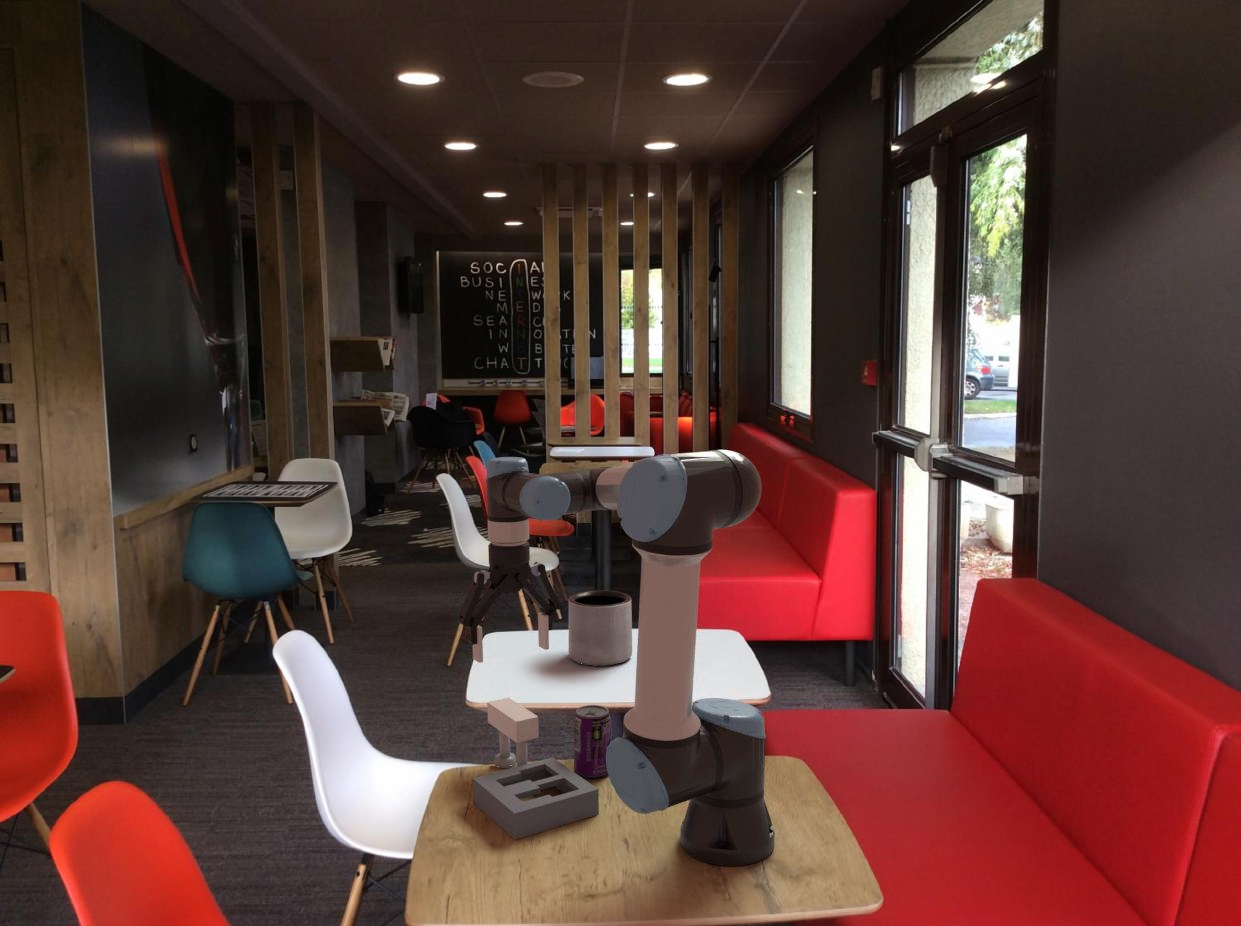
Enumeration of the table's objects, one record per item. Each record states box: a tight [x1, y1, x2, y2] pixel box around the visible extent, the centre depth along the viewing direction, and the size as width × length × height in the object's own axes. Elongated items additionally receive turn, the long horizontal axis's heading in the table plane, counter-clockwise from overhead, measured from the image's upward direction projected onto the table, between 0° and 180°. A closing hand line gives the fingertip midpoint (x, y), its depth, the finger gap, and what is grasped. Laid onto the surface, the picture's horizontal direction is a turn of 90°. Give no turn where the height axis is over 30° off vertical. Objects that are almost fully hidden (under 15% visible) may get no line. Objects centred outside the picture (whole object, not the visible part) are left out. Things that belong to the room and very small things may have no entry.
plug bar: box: [486, 697, 540, 769], centre depth 195 cm, size 12×4×12 cm, turn 33°
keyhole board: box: [472, 757, 600, 840], centre depth 180 cm, size 16×16×4 cm
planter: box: [568, 589, 633, 667], centre depth 261 cm, size 16×16×16 cm
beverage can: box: [572, 704, 613, 779], centre depth 194 cm, size 7×7×12 cm
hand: (511, 654), depth 193 cm, fingers open, 13 cm apart
